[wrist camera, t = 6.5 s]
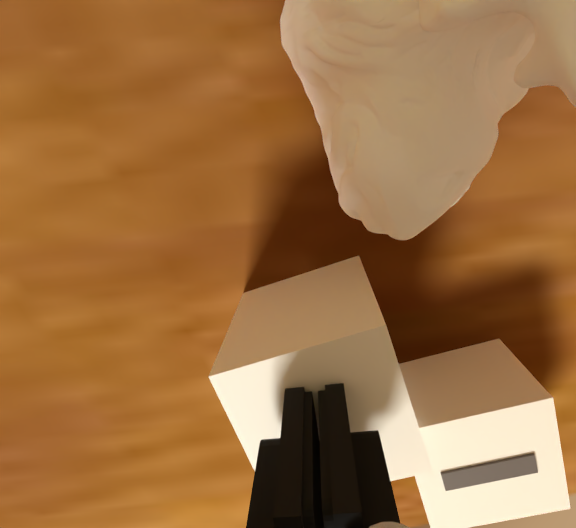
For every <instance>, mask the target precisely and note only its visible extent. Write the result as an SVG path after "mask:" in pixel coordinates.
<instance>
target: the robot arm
mask: <svg viewBox="0 0 576 528" xmlns="http://www.w3.org/2000/svg"><path fill="white" fill-rule="evenodd" d="M318 413H319V434H318V428H317V421H316V414H315V407H314V400H313V394H312V391H310V392H305V388H304V387H296V388H285V393H284V404H283V414H282V425H281V436H280V438H275V439H262V440H261V441H260V444H259V450H258V456H257V463H256V469H255V475H254V482H253V488H252V494H251V501H250V507H249V513H248V520H247V526H246V528H409V527H407V526H405V525H403V524H400V520H399V516H398V512H397V507H396V503H395V499H394V495H393V490H392V486H391V482H390V478H389V473H388V469H387V465H386V461H385V456H384V452H383V448H382V443H381V439H380V435H379V432H378V430H374V431H362V432H350V425H349V418H348V411H347V404H346V397H345V390H344V383H339V384H329V385H325V390H321V391H318Z"/></svg>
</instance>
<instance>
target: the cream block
mask: <svg viewBox="0 0 576 528" xmlns="http://www.w3.org/2000/svg"><path fill="white" fill-rule="evenodd" d="M209 379H210V381H211V383H212V385H213V387H214V389H215V391H216V393H217V395H218V397H219V399H220V401H221V403H222V405H223V407H224V409H225V411H226V413H227V415H228V417H229V420H230V422H231V424H232V426H233V428H234V430H235V432H236V434H237V436H238V438H239V440H240V442H241V444H242V446H243V448H244V450H245V452H246V454H247V456H248V458H249V460H250V462H251V464H252V467H253V469H254V471H255V469H256V463H257V456H258V450H259V444H260V441H261V440H262V439H275V438H280V436H281V425H282V414H283V404H284V393H285V388H296V387H304V388H305V392H310V391H312V394H313V400H314V407H315V414H316V421H317V428H318V434H319V413H318V391H321V390H325V385H329V384H339V383H344V390H345V397H346V404H347V411H348V418H349V425H350V432H362V431H374V430H378V432H379V435H380V439H381V443H382V448H383V452H384V456H385V461H386V465H387V469H388V473H389V478H390V481H394V480H398V479H402V478H407V477H411V476H415V475H420V474H424V473H429V472H433V470H432V467H431V463H430V460H429V457H428V454H427V451H426V448H425V445H424V442H423V438H422V435H421V432H420V429H419V426H418V423H417V420H416V417H415V413H414V410H413V407H412V404H411V401H410V398H409V395H408V392H407V389H406V385H405V382H404V379H403V376H402V373H401V370H400V367H399V364H398V360H397V357H396V354H395V351H394V348H393V345H392V342H391V339H390V335H389V332H388V329H387V326H386V323H385V321H384V318H383V316H382V313H381V310H380V308H379V305H378V303H377V300H376V298H375V295H374V293H373V290H372V287H371V285H370V282H369V280H368V277H367V275H366V272H365V270H364V267H363V265H362V262H361V259H360V257H359V256H356V257H353V258H349V259H346V260H343V261H340V262H337V263H334V264H331V265H328V266H325V267H322V268H319V269H316V270H312V271H309V272H306V273H303V274H300V275H297V276H294V277H291V278H288V279H285V280H282V281H279V282H275V283H272V284H269V285H266V286H263V287H260V288H257V289H254V290H251V291H248V292H245V293H243V295H242V297H241V300H240V302H239V305H238V307H237V309H236V312H235V314H234V317H233V319H232V321H231V324H230V326H229V329H228V331H227V333H226V336H225V338H224V341H223V343H222V345H221V348H220V350H219V353H218V355H217V357H216V360H215V362H214V365H213V367H212V369H211V372H210V374H209Z"/></svg>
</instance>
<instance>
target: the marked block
mask: <svg viewBox="0 0 576 528" xmlns="http://www.w3.org/2000/svg"><path fill="white" fill-rule="evenodd" d="M399 367H400V370H401V373H402V376H403V379H404V382H405V385H406V389H407V392H408V395H409V398H410V401H411V404H412V407H413V410H414V413H415V417H416V420H417V423H418V426H419V429H420V432H421V435H422V438H423V442H424V445H425V448H426V451H427V454H428V457H429V460H430V463H431V467H432V470H433V472H429V473H424V474H420V475H415V478H416V481H417V485H418V488H419V491H420V495H421V498H422V501H423V504H424V508H425V511H426V514H427V518H428V521H429V524H430V527H431V528H469V527H474V526H479V525H485V524H490V523H496V522H501V521H506V520H511V519H517V518H523V517H528V516H533V515H539V514H544V513H549V512H555V511H560V510H565V509H570V502H569V496H568V490H567V483H566V477H565V471H564V464H563V458H562V452H561V445H560V439H559V432H558V426H557V420H556V413H555V407H554V401H553V397H552V396H551V395H550V394H549V393H548V392H547V391H546V389H545V388H544V387H543V386H542V385H541V384H540V383H539V382H538V381H537V380H536V378H535V377H534V376H533V375H532V374H531V373H530V372H529V371H528V370H527V369H526V367H525V366H524V365H523V364H522V363H521V362H520V361H519V360H518V359H517V358H516V356H515V355H514V354H513V353H512V352H511V351H510V350H509V349H508V348H507V347H506V346H505V344H504V343H503V342H502V341H501V340H500V339H495V340H491V341H487V342H483V343H479V344H476V345H472V346H468V347H464V348H460V349H456V350H452V351H448V352H444V353H440V354H436V355H432V356H428V357H424V358H420V359H416V360H412V361H408V362H404V363H400V364H399Z"/></svg>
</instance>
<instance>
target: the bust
mask: <svg viewBox="0 0 576 528" xmlns="http://www.w3.org/2000/svg"><path fill="white" fill-rule="evenodd" d="M280 28H281V43H282V47H283V48H284V50H285V51H286V53H287V55H288V56H289V58H290V60H291V63H292V66H293V68H294V70H295V72H296V73H297V75H298V76H299V78H300V79H301V81H302V84H303V86H304V89H305V92H306V95H307V96H308V98H309V100H310V102H311V104H312V106H313V108H314V112H315V117H316V119H317V122H318V124H319V125H320V127H321V132H322V138H323V145H324V149H325V152H326V154H327V157H328V161H329V167H330V172H331V175H332V178H333V181H334V185H335V188H336V190H337V192H338V194H339V204H340V206H341V208H342V209H343V211H344V212H345V213H346V214H347V215H348V216H350V217H351V218H354V219H357V220H361V221H362V223H363V225H364V226H365V228H366V229H367V230H368V231H370V232H373V233H378V234H388V235H389V236H390V237H391V238H394V239H397V240H408V239H411V238H413V237H414V236H416V235H418V234H419V233H420V232H421V231H423V230H424V229H425V228H427V227H428V226H429V225H431V224H432V223H433V222H435V221H436V220H437V219H438V218H439V217H441V216H442V215H443V214H444V213H445V212H446V211H447V210H448V209H449V208H450V207H452V206H453V205H455V204H456V203H457V202H458V201H459V199H460V198H461V197H462V196H463V195H464V193H465V192H466V191H467V190H468V189H469V188H470V184H471V182H472V181H473V179H474V177H475V176H476V175H477V174H478V173H479V172H480V171H481V170H482V169H483V167H484V166H485V165H486V164H487V163H488V161H489V160H490V158H491V155H492V153H493V150H494V147H495V144H496V141H497V139H498V134H499V133H498V122H499V121H500V119H501V117H502V115H503V114H504V113H506V112H507V111H508V110H510V109H511V108H513V107H514V106H515V105H516V104H518V103H519V102H520V101H521V100H522V98H523V97H524V96H525V95H526V93H527V91H528V89H529V88H533V87H538V86H544V85H552V86H557V87H559V88H560V89H561V90H562V91H563V92H564V94H565V95H566V97H567V98H568V100H569V101H570V102H571V103H572V104H573V105H574V106H575V107H576V0H285V4H284V7H283V11H282V14H281V17H280Z"/></svg>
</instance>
